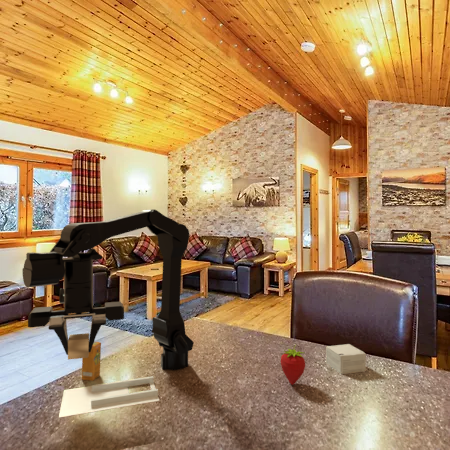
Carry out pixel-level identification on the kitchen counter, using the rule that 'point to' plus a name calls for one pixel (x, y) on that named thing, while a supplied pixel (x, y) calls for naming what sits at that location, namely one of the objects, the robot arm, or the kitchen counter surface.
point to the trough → (106, 396)
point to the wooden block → (78, 346)
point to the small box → (345, 359)
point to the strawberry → (292, 365)
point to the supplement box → (92, 363)
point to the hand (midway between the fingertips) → (78, 353)
